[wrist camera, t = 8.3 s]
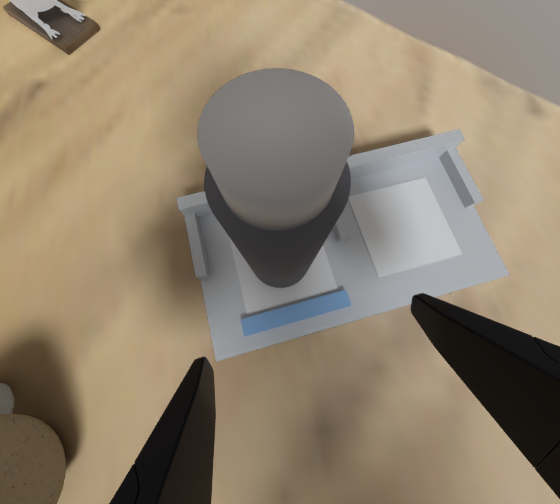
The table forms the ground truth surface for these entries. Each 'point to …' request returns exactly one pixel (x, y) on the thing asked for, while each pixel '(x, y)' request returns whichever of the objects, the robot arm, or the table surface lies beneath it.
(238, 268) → the white tray
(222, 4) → the table surface
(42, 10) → the figurine
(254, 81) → the grey upright cylinder
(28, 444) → the ceramic mug
